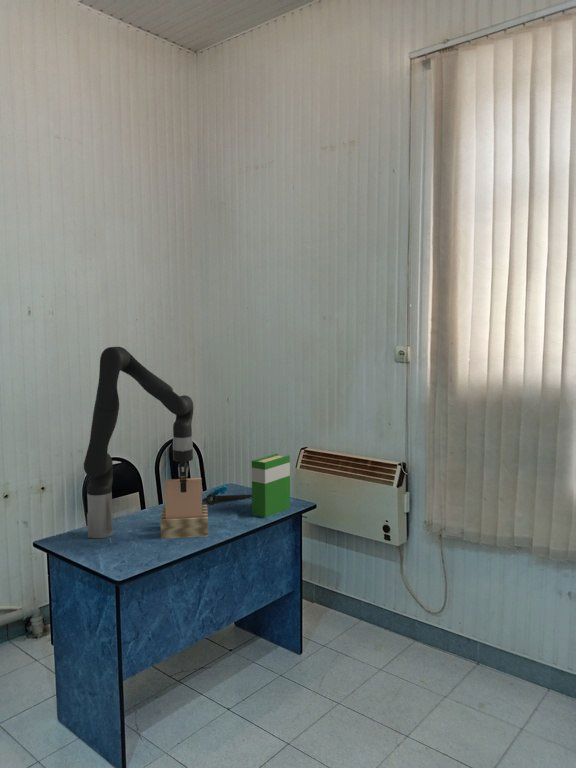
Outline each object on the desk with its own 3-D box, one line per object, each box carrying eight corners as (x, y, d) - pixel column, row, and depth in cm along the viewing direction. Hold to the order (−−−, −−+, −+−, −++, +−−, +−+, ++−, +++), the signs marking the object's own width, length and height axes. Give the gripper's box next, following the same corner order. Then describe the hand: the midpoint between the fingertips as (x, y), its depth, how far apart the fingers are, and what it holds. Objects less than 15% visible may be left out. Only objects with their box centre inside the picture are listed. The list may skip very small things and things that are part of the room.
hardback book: (276, 505, 292) (276, 453, 289) (289, 508, 288) (289, 455, 285) (252, 514, 278) (251, 460, 275) (265, 518, 274) (264, 463, 271)
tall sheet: (166, 536, 247) (164, 480, 244) (166, 535, 248) (164, 479, 246) (202, 534, 249) (201, 478, 247) (202, 532, 251) (201, 477, 248)
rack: (160, 542, 244) (160, 520, 244) (163, 526, 263) (162, 506, 262) (208, 539, 247) (207, 518, 246) (207, 524, 266) (207, 504, 265)
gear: (223, 492, 307) (228, 482, 300) (228, 503, 304) (234, 492, 297) (203, 499, 301) (208, 489, 293) (208, 510, 298) (213, 499, 291)
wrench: (265, 503, 302) (205, 507, 288) (260, 501, 307) (201, 505, 293) (265, 492, 302) (205, 496, 288) (261, 490, 306) (201, 493, 293)
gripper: (173, 444, 251) (174, 484, 253) (172, 452, 237) (173, 494, 239) (192, 443, 253) (193, 484, 254) (192, 451, 239) (193, 493, 240)
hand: (183, 489), depth 247 cm, fingers open, 8 cm apart
